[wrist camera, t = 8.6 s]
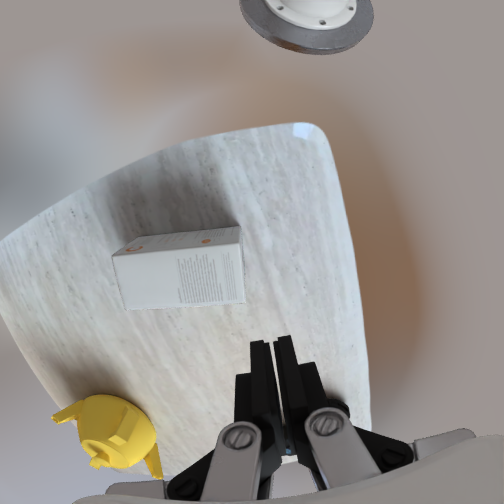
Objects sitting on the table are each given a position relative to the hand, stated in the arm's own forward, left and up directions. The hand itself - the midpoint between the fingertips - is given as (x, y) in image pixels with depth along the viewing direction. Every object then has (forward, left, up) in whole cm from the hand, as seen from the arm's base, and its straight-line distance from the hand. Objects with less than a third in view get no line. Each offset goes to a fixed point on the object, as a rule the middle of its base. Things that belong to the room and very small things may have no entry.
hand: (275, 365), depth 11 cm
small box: (+1, -2, -19) cm, 19 cm away
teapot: (+29, -32, -24) cm, 49 cm away
